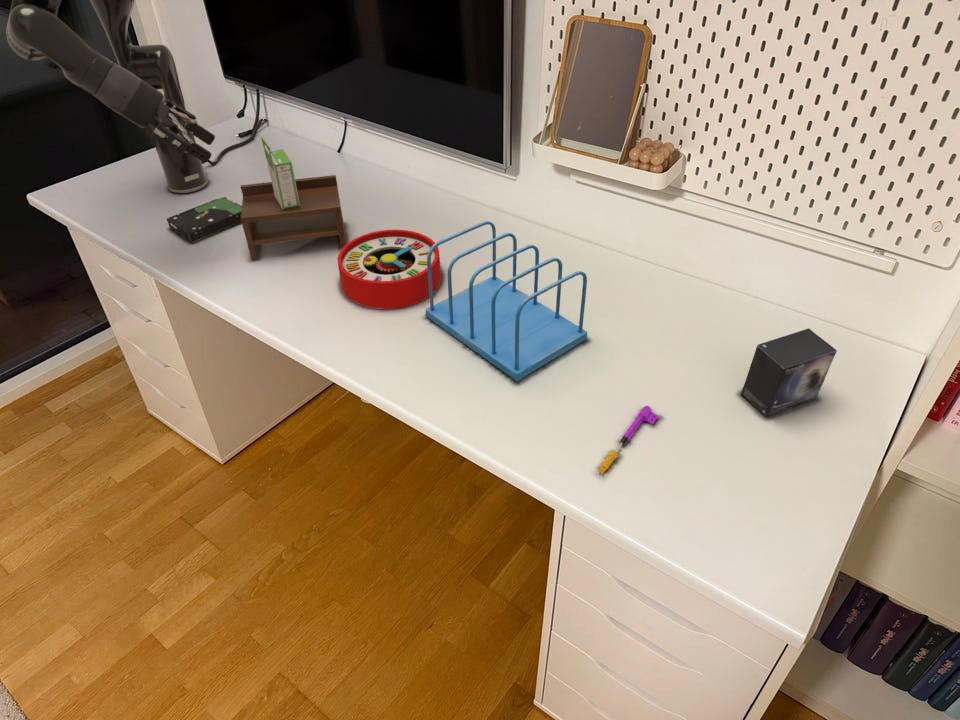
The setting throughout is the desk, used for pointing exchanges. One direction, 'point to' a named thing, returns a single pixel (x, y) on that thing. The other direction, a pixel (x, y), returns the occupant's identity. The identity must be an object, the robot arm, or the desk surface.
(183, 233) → the disk drive
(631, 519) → the desk surface
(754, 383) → the small box
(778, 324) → the desk surface
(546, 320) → the file sorter
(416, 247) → the toy clock
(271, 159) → the ink box
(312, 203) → the desk shelf
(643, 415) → the purple orange tool
